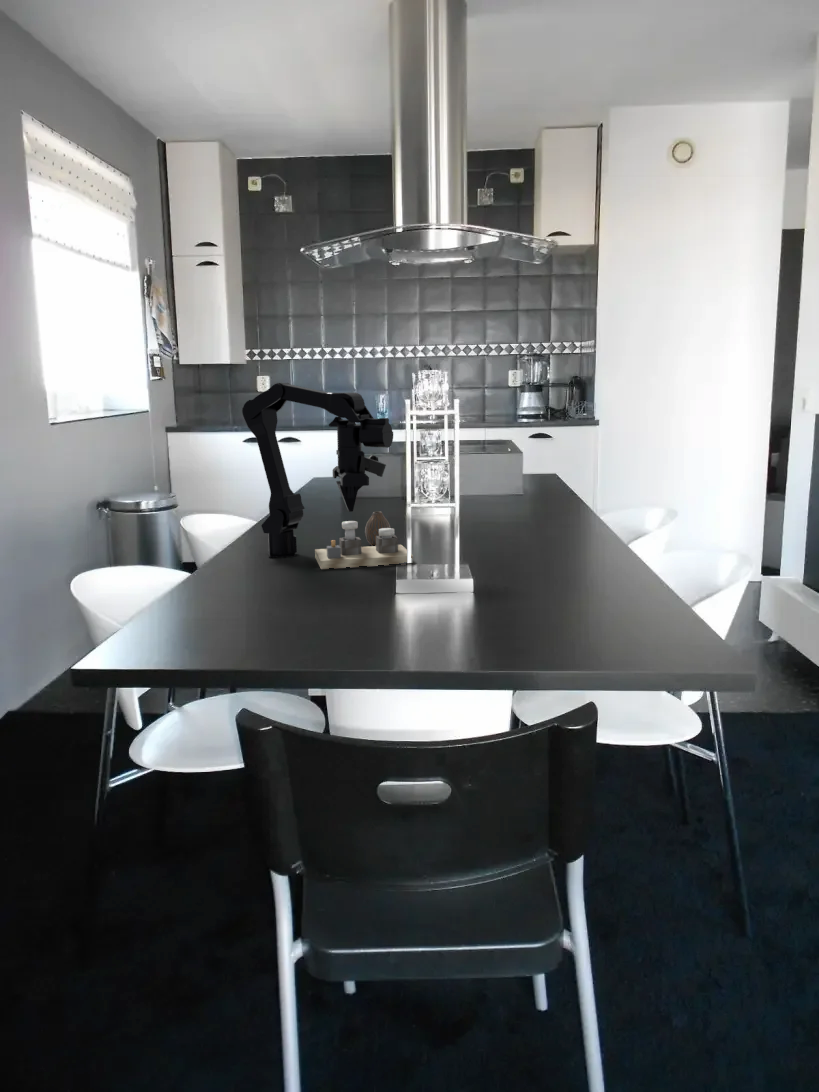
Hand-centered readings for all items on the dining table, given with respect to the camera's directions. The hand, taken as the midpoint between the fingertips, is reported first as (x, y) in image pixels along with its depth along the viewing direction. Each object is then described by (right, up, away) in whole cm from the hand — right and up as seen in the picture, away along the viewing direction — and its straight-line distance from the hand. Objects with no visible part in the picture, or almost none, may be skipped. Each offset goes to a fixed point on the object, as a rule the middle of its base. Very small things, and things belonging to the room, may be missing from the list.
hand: (350, 511), depth 199 cm
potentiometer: (-4, -11, -3) cm, 12 cm away
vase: (+6, -8, +22) cm, 25 cm away
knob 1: (0, -7, +1) cm, 8 cm away
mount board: (+3, -12, +3) cm, 13 cm away
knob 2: (+9, -9, +3) cm, 13 cm away
